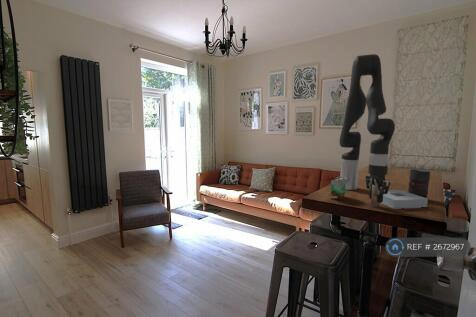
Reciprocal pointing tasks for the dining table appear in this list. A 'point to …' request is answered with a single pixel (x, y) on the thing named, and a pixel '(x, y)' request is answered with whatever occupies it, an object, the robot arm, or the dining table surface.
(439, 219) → the dining table surface
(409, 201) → the socket board
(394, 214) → the dining table surface
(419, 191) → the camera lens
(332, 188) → the food container
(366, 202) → the dining table surface
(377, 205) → the peg
